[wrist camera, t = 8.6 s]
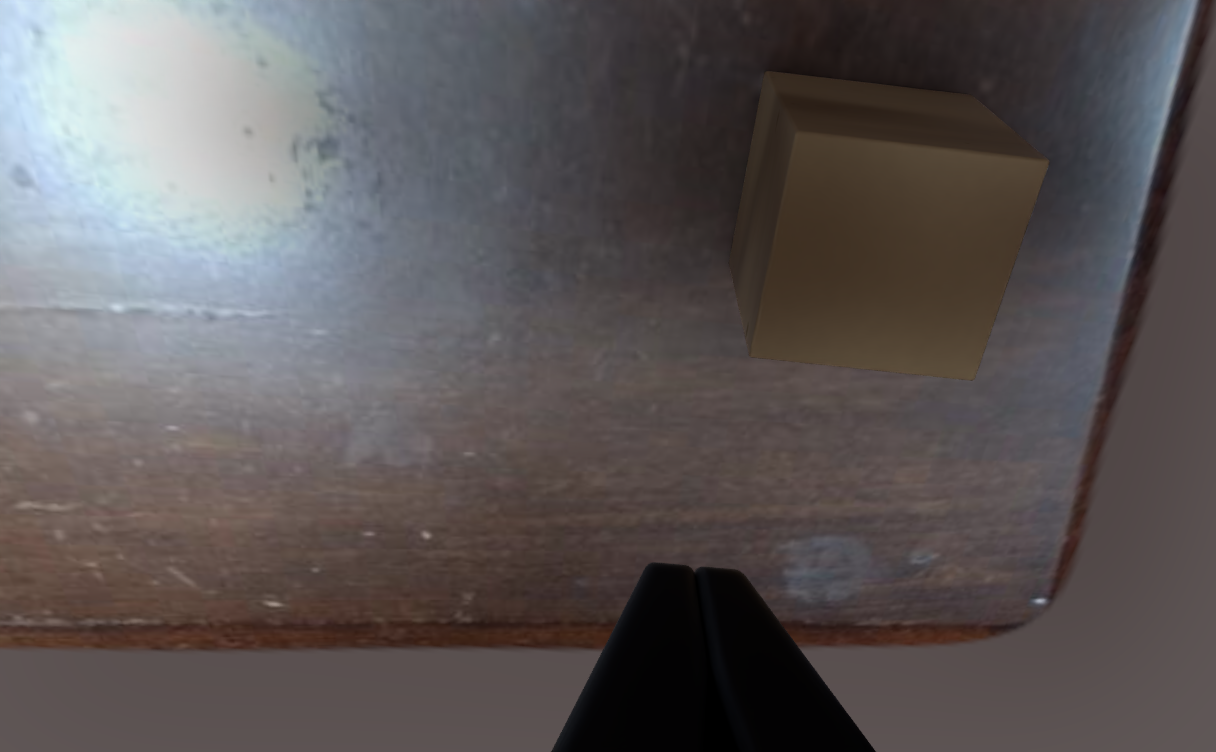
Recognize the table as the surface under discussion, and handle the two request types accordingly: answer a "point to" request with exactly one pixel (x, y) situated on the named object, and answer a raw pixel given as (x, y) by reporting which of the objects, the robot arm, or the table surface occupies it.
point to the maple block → (878, 225)
